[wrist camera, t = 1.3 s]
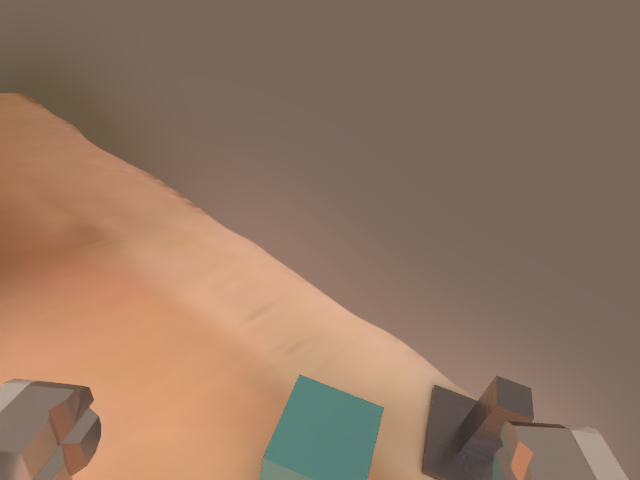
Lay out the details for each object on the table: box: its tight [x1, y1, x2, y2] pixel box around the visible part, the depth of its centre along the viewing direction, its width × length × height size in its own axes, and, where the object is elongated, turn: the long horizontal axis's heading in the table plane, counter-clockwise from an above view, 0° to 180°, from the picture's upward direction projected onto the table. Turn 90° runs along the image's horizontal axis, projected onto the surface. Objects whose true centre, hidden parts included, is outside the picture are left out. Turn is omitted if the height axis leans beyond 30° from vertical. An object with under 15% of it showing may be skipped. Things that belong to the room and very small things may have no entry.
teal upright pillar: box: [259, 375, 383, 480], centre depth 27 cm, size 6×6×10 cm
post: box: [422, 376, 534, 480], centre depth 33 cm, size 8×8×8 cm
